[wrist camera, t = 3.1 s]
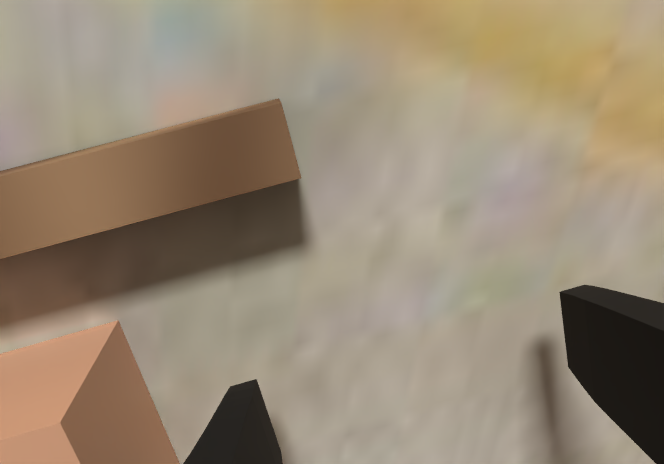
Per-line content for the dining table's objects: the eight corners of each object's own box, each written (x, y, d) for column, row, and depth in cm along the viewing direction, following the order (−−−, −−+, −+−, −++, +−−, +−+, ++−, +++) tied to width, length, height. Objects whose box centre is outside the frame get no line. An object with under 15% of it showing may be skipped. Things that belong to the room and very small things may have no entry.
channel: (278, 98, 12) (281, 102, 10) (397, 541, 16) (411, 588, 14) (-386, 272, 11) (-483, 302, 9) (-80, 686, 15) (-116, 751, 14)
